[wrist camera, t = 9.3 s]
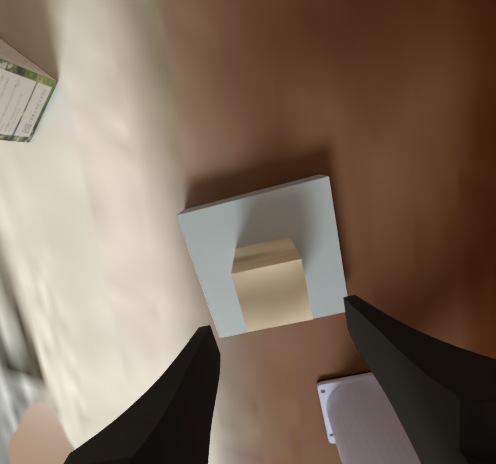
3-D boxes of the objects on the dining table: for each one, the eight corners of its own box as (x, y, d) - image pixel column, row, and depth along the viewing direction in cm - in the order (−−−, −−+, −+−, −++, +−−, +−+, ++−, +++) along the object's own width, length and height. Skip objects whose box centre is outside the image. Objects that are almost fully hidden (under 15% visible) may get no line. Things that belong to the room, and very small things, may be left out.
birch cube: (299, 285, 20) (312, 319, 16) (248, 296, 20) (247, 331, 16) (289, 236, 19) (301, 258, 14) (235, 248, 19) (230, 273, 15)
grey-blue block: (337, 292, 24) (349, 311, 21) (223, 317, 25) (219, 338, 22) (317, 174, 20) (328, 176, 17) (185, 208, 21) (176, 215, 18)
